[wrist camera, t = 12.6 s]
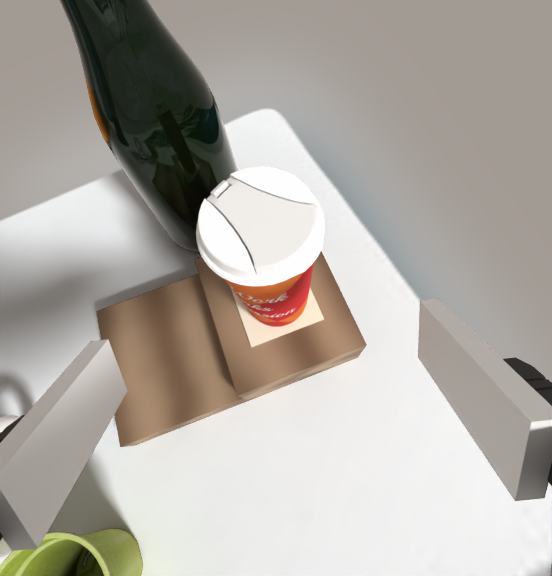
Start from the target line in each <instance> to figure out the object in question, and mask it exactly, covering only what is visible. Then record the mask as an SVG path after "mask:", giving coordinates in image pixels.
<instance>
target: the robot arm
mask: <svg viewBox="0 0 552 576" xmlns="http://www.w3.org/2000/svg"><path fill="white" fill-rule="evenodd" d="M418 358H419V359H420V361H421V362H422V364H423V365H424V367H425V368H426V370H427V371H428V373H429V374H430V376H431V377H432V379H433V380H434V382H435V383H436V384H437V386H438V387H439V389H440V390H441V392H442V393H443V395H444V396H445V398H446V399H447V401H448V402H449V404H450V405H451V407H452V408H453V410H454V411H455V413H456V414H457V416H458V417H459V419H460V420H461V422H462V423H463V425H464V426H465V427H466V429H467V430H468V432H469V433H470V435H471V436H472V438H473V439H474V441H475V442H476V444H477V445H478V447H479V448H480V450H481V451H482V453H483V454H484V456H485V457H486V459H487V460H488V462H489V463H490V465H491V466H492V468H493V469H494V470H495V472H496V473H497V475H498V476H499V478H500V479H501V481H502V482H503V484H504V485H505V487H506V488H507V490H508V491H509V493H510V494H511V496H512V497H513V499H514V500H515V501H520V500H530V499H540V498H545V494H546V490H547V486H548V482H549V483H550V484H551V485H552V383H551V382H550V381H549V380H546V379H545V377H544V376H543V375H542V374H541V373H540V372H539V371H537V370H536V369H535V368H534V367H532V366H531V365H529V364H527V363H525V362H523V361H521V360H519V359H517V358H509V359H502V358H501V357H500V356H499V355H497V354H496V353H495V352H494V351H493V350H492V349H491V348H490V347H489V346H488V345H487V344H486V343H485V342H484V341H483V340H482V339H481V338H480V337H479V336H478V335H477V334H475V333H474V332H473V331H472V330H471V329H470V328H469V327H468V326H467V325H466V324H465V323H464V322H463V321H462V320H461V319H460V318H458V316H456V315H455V314H454V313H453V312H452V311H451V310H450V309H449V308H448V307H447V306H446V305H445V304H444V303H443V302H442V301H441V300H440V299H432V300H424V301H420V314H419V343H418ZM126 393H127V388H126V385H125V383H124V380H123V377H122V375H121V372H120V369H119V366H118V364H117V361H116V358H115V356H114V353H113V350H112V348H111V345H110V342H109V340H108V339H106V340H98V341H91V342H90V343H89V344H88V345H87V346H86V347H85V348H84V350H83V351H82V352H81V353H80V354H79V355H78V356H77V357H76V359H75V360H74V361H73V362H72V363H71V364H70V365H69V366H68V368H67V369H66V370H65V371H64V372H63V373H62V374H61V375H60V377H59V378H58V379H57V380H56V381H55V382H54V383H53V384H52V386H51V387H50V388H49V389H48V390H47V391H46V392H45V393H44V395H43V396H42V397H41V398H40V399H39V400H38V401H37V402H36V404H35V405H34V406H33V407H32V408H31V409H30V410H29V411H28V413H27V414H26V415H22V416H21V417H19V418H18V419H17V420H15V421H14V422H13V423H11V424H10V425H9V426H7V427H6V428H5V429H4V430H3V431H2V432H1V433H0V541H1V539H2V538H3V539H4V541H5V542H6V543H7V545H8V546H9V548H10V549H11V551H17V550H27V549H37V548H39V546H40V544H41V542H42V541H43V539H44V537H45V535H46V534H47V532H48V530H49V528H50V527H51V525H52V523H53V521H54V520H55V518H56V516H57V514H58V512H59V511H60V509H61V507H62V505H63V504H64V502H65V500H66V498H67V497H68V495H69V493H70V491H71V490H72V488H73V486H74V484H75V483H76V481H77V479H78V477H79V476H80V474H81V472H82V470H83V469H84V467H85V465H86V463H87V461H88V460H89V458H90V456H91V454H92V453H93V451H94V449H95V447H96V446H97V444H98V442H99V440H100V439H101V437H102V435H103V433H104V432H105V430H106V428H107V426H108V425H109V423H110V421H111V419H112V418H113V416H114V414H115V412H116V410H117V409H118V407H119V405H120V403H121V402H122V400H123V398H124V396H125V395H126ZM551 576H552V566H551Z"/></svg>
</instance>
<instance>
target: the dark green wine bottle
mask: <svg viewBox="0 0 552 576" xmlns="http://www.w3.org/2000/svg"><path fill="white" fill-rule="evenodd" d="M59 1H60V3H61V5H62V7H63V10H64V12H65V14H66V16H67V18H68V21H69V23H70V26H71V29H72V32H73V34H74V38H75V40H76V43H77V46H78V50H79V54H80V58H81V62H82V66H83V70H84V75H85V79H86V84H87V88H88V93H89V97H90V101H91V105H92V109H93V113H94V116H95V119H96V121H97V124H98V126H99V128H100V131H101V133H102V135H103V138H104V139H105V141H106V143H107V144H108V146H109V148H110V149H111V151H112V152H113V154H114V156H115V157H116V159H117V161H118V162H119V164H120V165H121V167H122V169H123V170H124V172H125V173H126V175H127V176H128V178H129V179H130V181H131V182H132V184H133V185H134V186H135V188H136V189H137V191H138V192H139V194H140V195H141V197H142V198H143V200H144V201H145V202H146V204H147V205H148V207H149V208H150V210H151V211H152V213H153V214H154V215H155V217H156V218H157V220H158V221H159V223H160V224H161V225H162V227H163V228H164V230H165V231H166V232H167V234H168V235H169V236H170V237H171V239H172V240H173V241H174V242H175V243H176V244H177V245H179V246H181V247H182V248H184V249H187V250H189V251H194V252H200V251H199V249H198V245H197V240H196V228H197V222H198V215H199V211H200V207H201V205H202V203H203V201H204V198H205V199H206V200H207V198H208V197H209V196H210V195H211V193H210V192H211V191H212V190H213V189H215V188H216V187H217V186H218V185H219V184H220V183H221V182H222V181H223V180H225V181H226V180H227V179H228V178H230V174H232V173H234V172H236V171H238V169H237V166H236V162H235V159H234V156H233V153H232V149H231V146H230V143H229V140H228V136H227V133H226V130H225V127H224V124H223V121H222V118H221V115H220V113H219V110H218V108H217V104H216V102H215V99H214V96H213V95H212V92H211V90H210V88H209V86H208V85H207V83H206V81H205V79H204V77H203V75H202V73H201V71H200V70H199V69H198V67H197V66H196V65H195V63H194V62H193V61H192V59H191V58H190V57H189V56H188V54H187V53H186V52H185V50H184V49H183V48H182V47H181V45H180V44H179V43H178V42H177V40H176V39H175V38H174V37H173V35H172V34H171V33H170V31H169V30H168V29H167V27H166V26H165V25H164V23H163V22H162V21H161V19H160V18H159V17H158V15H157V14H156V12H155V11H154V9H153V8H152V6H151V4H150V3H149V1H148V0H59Z"/></svg>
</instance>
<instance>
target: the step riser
mask: <svg viewBox="0 0 552 576" xmlns="http://www.w3.org/2000/svg"><path fill="white" fill-rule="evenodd" d="M195 263H196V266H197V269H198V272H199V274H196V275H194V276H191V277H188V278H185V279H183V280H180V281H177V282H175V283H172V284H169V285H167V286H164V287H161V288H159V289H156V290H153V291H151V292H148V293H145V294H142V295H140V296H137V297H134V298H132V299H129V300H126V301H124V302H121V303H118V304H116V305H113V306H110V307H107V308H105V309H102V310H99V311H97V317H98V323H99V328H100V334H101V340H106V339H108V340H109V342H110V345H111V348H112V350H113V353H114V356H115V358H116V361H117V364H118V366H119V369H120V372H121V375H122V377H123V380H124V383H125V385H126V388H127V393H126V395H125V396H124V398H123V400H122V402H121V403H120V405H119V407H118V409H117V410H116V412H115V419H116V425H117V431H118V436H119V442H120V447H125V446H134V445H137V444H140V443H142V442H145V441H148V440H150V439H153V438H155V437H158V436H160V435H163V434H165V433H168V432H170V431H173V430H175V429H178V428H180V427H183V426H185V425H188V424H191V423H193V422H196V421H198V420H201V419H203V418H206V417H208V416H211V415H213V414H216V413H218V412H221V411H223V410H226V409H228V408H231V407H234V406H236V405H239V404H241V403H244V402H246V401H249V400H251V399H254V398H256V397H259V396H261V395H264V394H266V393H269V392H271V391H274V390H277V389H279V388H282V387H284V386H287V385H289V384H292V383H294V382H297V381H299V380H302V379H304V378H307V377H309V376H312V375H314V374H317V373H320V372H322V371H325V370H327V369H330V368H332V367H335V366H337V365H340V364H342V363H345V362H347V361H350V360H352V359H355V358H357V357H358V356H359V355H360V353H361V352H362V351H363V349H364V348H365V347H366V343H365V341H364V339H363V337H362V335H361V332H360V330H359V328H358V326H357V324H356V322H355V320H354V318H353V316H352V314H351V312H350V310H349V308H348V305H347V303H346V301H345V299H344V297H343V295H342V293H341V291H340V289H339V287H338V285H337V283H336V281H335V278H334V276H333V274H332V272H331V270H330V268H329V266H328V264H327V262H326V260H325V258H324V256H323V254H322V251H321V252H320V254H319V255H318V257H317V258H316V260H315V261H314V266H313V272H312V278H311V284H310V289H309V295H308V300H307V304H306V307H305V309H304V311H303V313H302V314H301V315H300V317H299V318H298V319H297V320H295V321H294V322H292V323H291V324H288V325H285V326H281V327H272V326H268V325H265V324H263V323H261V322H259V321H258V320H257V319H256V318H255V317H254V316H253V315H252V314H251V313H250V312H249V311H248V309H247V308H246V307H245V305H244V304H243V303H242V302H241V300H240V299H239V298H238V296H237V295H236V294H235V292H234V291H233V290H232V288H231V287H230V286H229V284H228V283H227V282H226V280H225V279H224V278H222V277H221V276H219V275H218V274H216V273H215V272H214V271H213V270H212V269H211V268H210V267H209V266H208V265H207V264H206V262H205V261H204V259H203V258H202V257H201V258H198V259H195Z"/></svg>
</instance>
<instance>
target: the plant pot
mask: <svg viewBox="0 0 552 576" xmlns="http://www.w3.org/2000/svg"><path fill="white" fill-rule="evenodd" d="M89 551H90V552H91V554H90V556H89V558H88V559H87V562H86V565H85V568H83V565H82V564H83V561H84V558H85V556H86V554H87V552H89ZM142 567H143V563H142V558H141V555H140V551H139V547H138V543H137V541H136V540H135V539H134V537H133V536H132V535H131V534H129V533H128V532H126V531H124V530H121V529H107V530H102V531H98V532H94V533H89V534H84V535H77V534H74V533H69V532H50V533H47V534H46V535H45V537H44V539H43V541H42V542H41V544H40V546H39V548H37V549H27V550H17V551H13V552H12V553H11V554H10V555H9V556H8V557H7V558H6V559H5V560H4V561H3V562H2V564H1V565H0V576H141V574H142Z"/></svg>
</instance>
